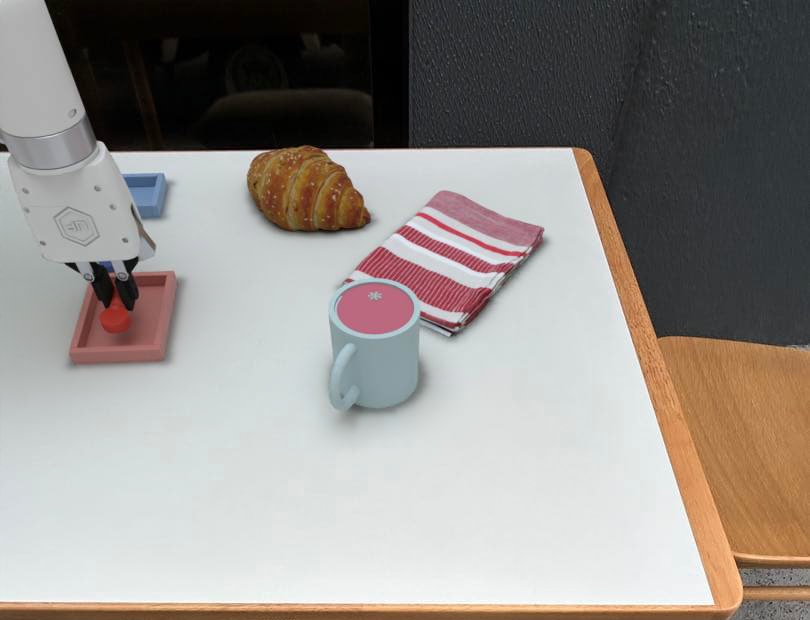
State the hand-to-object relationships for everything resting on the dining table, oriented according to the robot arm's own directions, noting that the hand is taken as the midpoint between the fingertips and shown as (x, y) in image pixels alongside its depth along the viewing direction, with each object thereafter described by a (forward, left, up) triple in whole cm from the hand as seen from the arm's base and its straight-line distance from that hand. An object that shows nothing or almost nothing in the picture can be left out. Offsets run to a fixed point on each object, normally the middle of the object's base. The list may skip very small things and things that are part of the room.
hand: (122, 302), depth 77 cm
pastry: (+20, +23, -3) cm, 31 cm away
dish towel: (+39, +9, -3) cm, 40 cm away
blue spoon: (-4, +14, -3) cm, 15 cm away
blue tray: (-6, +25, -3) cm, 26 cm away
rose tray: (0, 0, -3) cm, 3 cm away
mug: (+28, -13, -3) cm, 31 cm away
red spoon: (0, 0, 0) cm, 1 cm away
